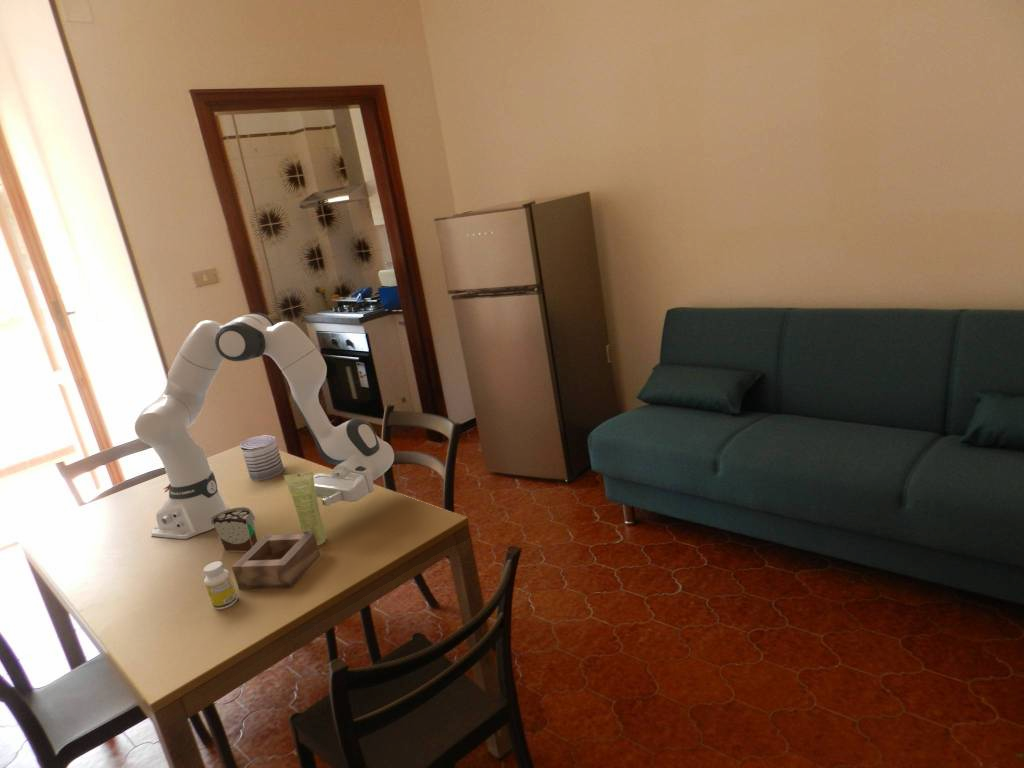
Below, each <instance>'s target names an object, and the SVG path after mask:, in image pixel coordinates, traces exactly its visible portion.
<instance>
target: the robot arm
mask: <svg viewBox="0 0 1024 768" xmlns="http://www.w3.org/2000/svg"><path fill="white" fill-rule="evenodd" d="M263 355H266V356H269V357H270V358H271V359H272V360H273V361H274V362H275V364H276V365H277V367H278V368H279V370H280V371H281V372H282V374H283V376H284V377H285V379H286V381H287V383H288V386H289V388H290V395H291V398H292V400H293V402H294V405H295V407H296V409H297V411H298V413H299V414H300V416H301V418H302V420H303V422H304V424H305V425H306V427H307V428H308V431H309V432H310V434H311V436H312V438H313V441H314V443H315V446H316V450H317V452H318V454H319V456H320V457H321V459H323V461H324V462H325V463H328V464H329V465H330V464H331V465H334V467H333V470H332V473H327V472H318V473H315V474H313V478H314V486H315V491H316V497H317V498H320V499H321V502H322V506H324V507H329V506H331V505H332V504H336V503H338V502H341V501H343V502H349V503H353V502H357V501H360V500H361V499H363V498H365V497H366V496H367V495H368V494H371V493H373V492H375V486H374V481H375V480H376V479H378V478H379V477H381V476H382V475H383V474H385V473H386V472H387V471H388V470H389V469H390V468H391V467H392V465H393V463H394V461H395V453H394V452H395V451H394V449H393V447H392V446H391V445H390V444H389V443H388V442H387V441H384V440H383V439H381V438H379V436H378V435H377V434H376V432H375V430H374V428H373V426H372V425H371V423H369V422H368V421H367V420H365V418H361V417H352V418H351V419H349V420H347V421H345V422H343V423H341V424H339V425H337V426H334V425H333V424H332V423H331V422H330V419H329V418H328V416H327V414H326V413H325V411H324V409H323V407H322V405H321V404H320V403H321V402H320V401H319V393H320V390H321V387H322V386H323V384H324V382H325V380H326V376H327V373H328V371H327V369H328V367H327V364H326V361H325V359H324V357H323V355H322V354H321V353H320V350H318V349H317V347H316V345H314V343H313V342H312V340H311V339H310V338H309V337H308V336H307V334H305V332H304V331H303V330H302V329H301V328H300V327H299V326H298V325H297V324H296V323H294V322H292V321H289V320H286V321H285V320H283V321H281V322H280V321H279V322H277V323H275V322H274V320H273V319H272V318H271V317H270V316H268V315H267V314H264V313H260V312H250V313H248V314H244V315H241V316H238V317H235V318H234V319H232V320H231V321H229V322H226V323H224V324H222V323H221V322H218V321H215V320H212V319H211V320H210V319H206V320H202V321H199V322H198V323H197V324H196V325H195V326H194V327H193V328H192V330H191V331H190V332H189V334H187V337H186V338H185V339H184V341H183V343H182V345H181V346H180V348H179V350H178V352H177V354H176V356H175V358H174V360H173V362H172V364H171V367H170V368H169V370H168V372H167V382H166V385H165V389H164V391H163V393H162V394H161V395H160V396H159V397H158V398H157V399H156V400H155V401H154V402H153V403H151V404H149V405H148V406H147V407H145V408H144V409H143V410H142V411H141V412H140V414H139V415H138V417H137V419H136V421H135V423H134V432H135V434H136V436H137V438H138V439H139V440H140V441H141V442H143V443H144V444H145V445H146V444H147V445H148V446H151V447H152V448H153V450H154V451H155V453H156V454H157V456H158V457H159V459H160V460H161V462H162V465H163V467H164V470H165V473H166V475H167V479H168V481H169V483H168V485H167V486H166V487H164V488H163V490H164V493H166V492H168V497H167V499H166V500H165V501H164V503H162V505H161V506H160V508H159V509H158V510H157V511H156V515H155V517H156V523H157V524H156V526H155V527H153V528H152V530H151V533H150V534H151V537H157V538H158V537H159V538H167V539H180V540H187V539H191V538H193V537H195V536H196V535H199V534H202V533H205V532H208V531H211V530H214V529H215V526H214V524H213V525H212V523H211V520H212V519H211V517H213V516H215V515H216V514H218V513H221V512H223V511H226V510H229V508H228V506H227V504H226V502H225V501H224V499H223V497H222V495H221V493H220V490H219V489H218V484H217V479H216V476H215V473H214V472H213V470H212V469H211V466H210V464H209V461H208V458H207V455H206V452H205V449H204V447H203V446H202V445H200V444H198V443H196V441H195V440H194V438H193V436H192V434H190V430H189V428H190V426H192V425H193V424H194V423H195V422H196V421H197V419H199V416H200V414H201V412H202V410H203V406H204V404H205V400H206V397H207V393H208V391H209V389H210V387H211V384H212V383H213V381H214V379H215V377H216V376H217V373H218V372H219V370H220V368H221V366H222V364H223V362H224V360H228V361H231V362H245V361H249V360H252V359H256V358H260V357H261V356H263ZM335 465H336V466H335Z"/></svg>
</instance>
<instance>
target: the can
mask: <svg viewBox="0 0 1024 768" xmlns="http://www.w3.org/2000/svg"><path fill="white" fill-rule="evenodd" d="M239 448H240V449H241V450H240V451H241V453H242V456H243V460H244V463H245V465H246V469H247V472H248V475H249V479H250V480H251V481H258V482H259V481H263V480H268V479H271V478H274V477H276V476H278V475H280V474H281V473H282V472H284V470H285V468H284V464H283V460H282V458H281V454H280V450H279V447H278V444H277V440H276V436H275V435H274V436H273V435H267V434H263V435H258V436H257V435H256V436H254V437H250V438H247V439H246V440H243V441H241V442H240V443H239Z"/></svg>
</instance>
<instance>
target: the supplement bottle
mask: <svg viewBox="0 0 1024 768" xmlns="http://www.w3.org/2000/svg"><path fill="white" fill-rule="evenodd" d="M203 572H204V575H205V577H204V579H203V580H204V585H205V588H206V590H207V594H208V595H209V599H210V602H211V605H212V607H213V608H214V610H216V611H217V610H224V609H227V608H230V607H231V606H233V605H234V604H235V603H237V601H238V597H239V596H238V594H237V591H236V588H235V586H234V582H233V580H232V577H231V573H230V572H229V570H228V569H225V567H224V564H223V562H222V561H219V560H218V561H213V562H211V563H208V564H207V565H206V566H204V568H203Z"/></svg>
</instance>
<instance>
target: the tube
mask: <svg viewBox="0 0 1024 768" xmlns="http://www.w3.org/2000/svg"><path fill="white" fill-rule="evenodd" d="M313 475H314V472H313V471H308V472H301V473H295V474H286V475H283V479H284V481H285V483H286V486H287V489H288V491H289V494H290V498H291V500H292V503H293V505H294V508H295V511H296V514H297V517H298V521H299V524H300V527H301V530H302V534H312V533H314V535H315V539H316V542H317V546H318V547H319V546H320V545H323V544H324V543H325V542H326V540H327V539H326V534H325V529H324V525H323V521H322V517H321V512H320V511H321V510H320V507H319V503H318V502H319V501H318V497H316V491H315V486H314V478H313Z"/></svg>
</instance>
